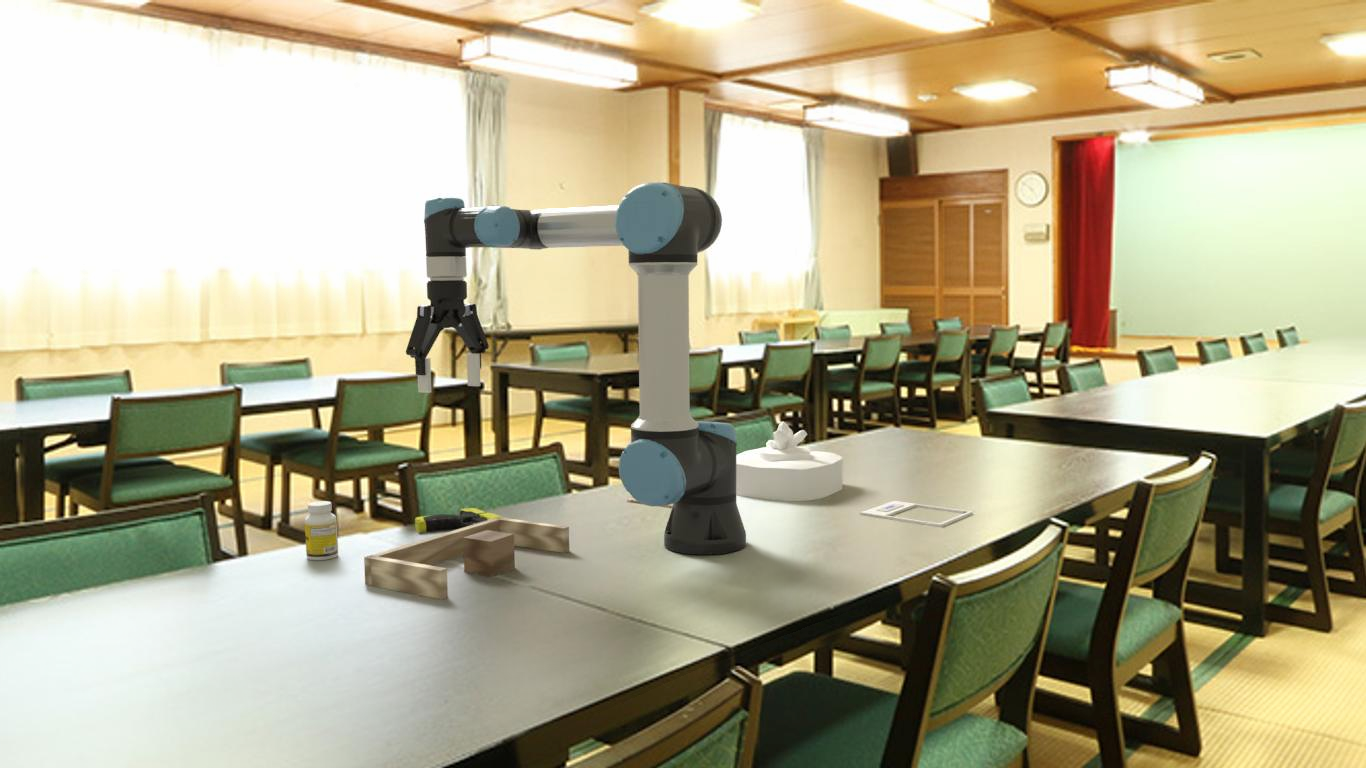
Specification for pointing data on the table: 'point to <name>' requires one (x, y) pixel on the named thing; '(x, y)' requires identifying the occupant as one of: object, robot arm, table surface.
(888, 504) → the photo frame
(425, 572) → the bay
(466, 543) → the cube
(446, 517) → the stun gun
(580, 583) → the table surface
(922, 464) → the table surface
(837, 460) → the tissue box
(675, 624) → the table surface
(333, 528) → the supplement bottle
